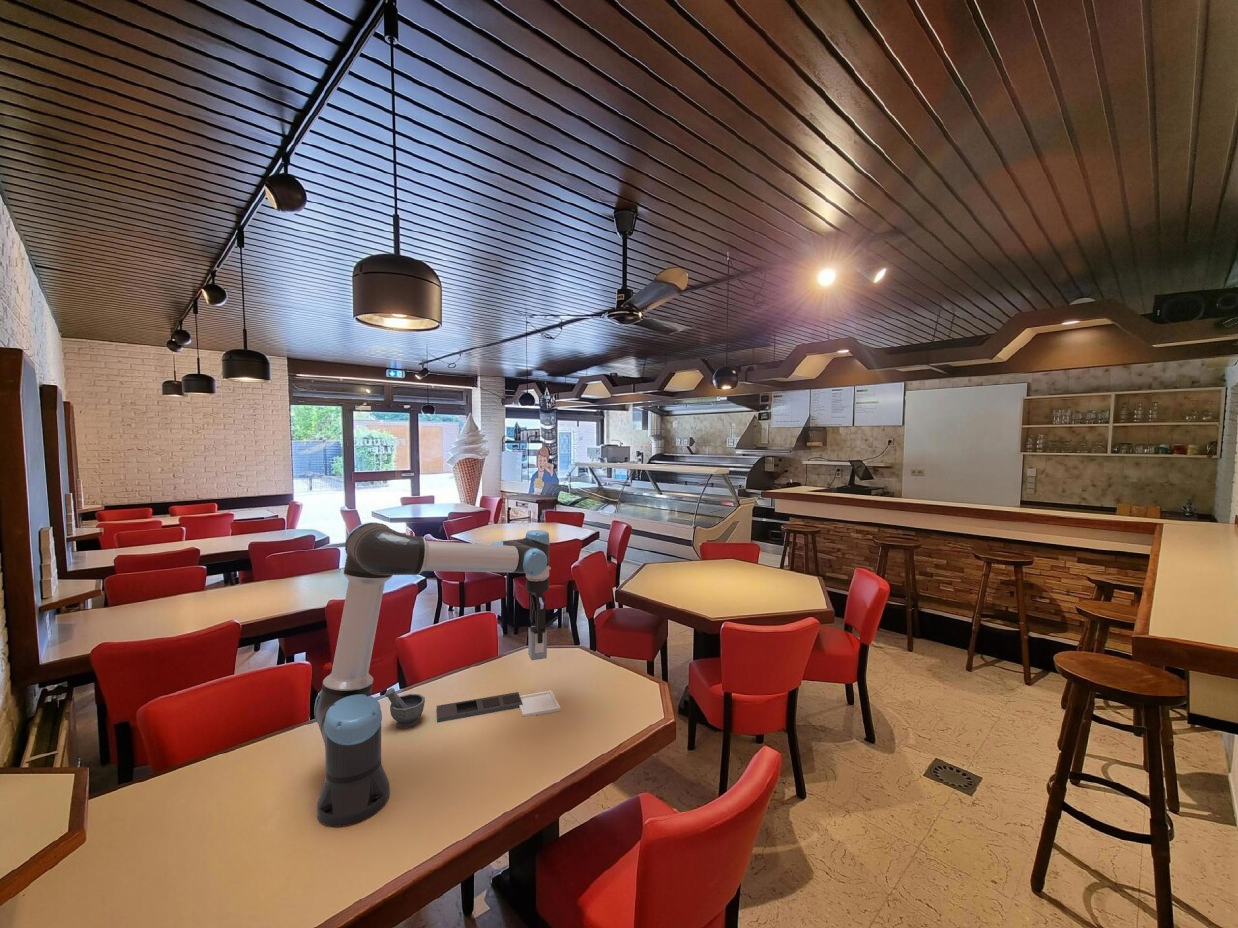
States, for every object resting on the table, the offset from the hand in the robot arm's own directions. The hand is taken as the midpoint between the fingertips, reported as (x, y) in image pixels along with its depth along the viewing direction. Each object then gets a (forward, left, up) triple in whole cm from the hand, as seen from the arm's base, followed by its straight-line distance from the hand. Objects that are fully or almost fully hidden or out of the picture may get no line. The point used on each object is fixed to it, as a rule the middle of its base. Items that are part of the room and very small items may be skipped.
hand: (537, 648), depth 162 cm
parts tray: (0, 0, -19) cm, 19 cm away
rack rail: (+4, +18, -19) cm, 26 cm away
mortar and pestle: (+3, +40, -19) cm, 44 cm away
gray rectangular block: (0, 0, -3) cm, 3 cm away
